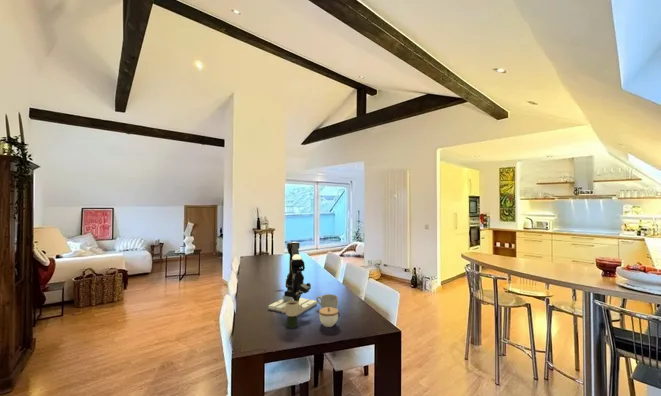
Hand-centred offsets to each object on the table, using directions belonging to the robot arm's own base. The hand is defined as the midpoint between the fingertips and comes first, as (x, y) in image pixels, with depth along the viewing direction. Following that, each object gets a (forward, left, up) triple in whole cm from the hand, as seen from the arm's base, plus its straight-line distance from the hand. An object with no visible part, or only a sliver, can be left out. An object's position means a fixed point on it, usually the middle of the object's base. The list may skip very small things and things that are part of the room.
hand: (296, 304), depth 182 cm
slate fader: (-7, -12, -3) cm, 14 cm away
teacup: (-12, +15, -4) cm, 19 cm away
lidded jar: (+8, +27, -4) cm, 28 cm away
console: (-5, -6, -4) cm, 9 cm away
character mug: (+20, +11, -4) cm, 23 cm away
